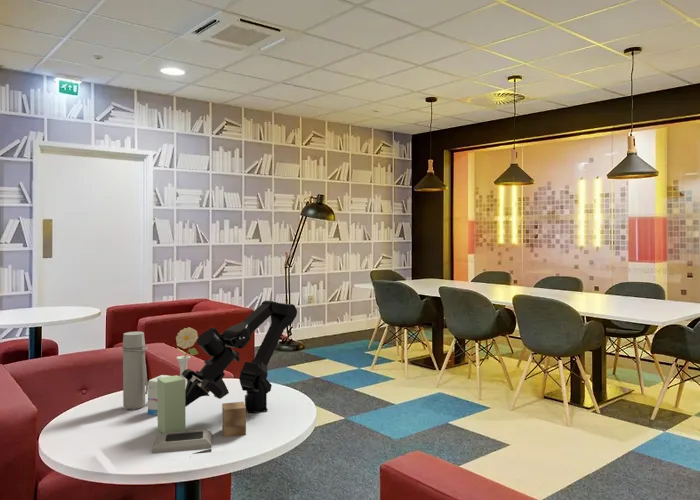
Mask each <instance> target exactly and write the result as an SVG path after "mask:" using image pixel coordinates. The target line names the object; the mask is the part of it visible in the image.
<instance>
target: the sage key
mask: <svg viewBox="0 0 700 500" xmlns="http://www.w3.org/2000/svg"><path fill="white" fill-rule="evenodd" d="M169 376H170V377H163V378H157V395H158V415H157V431H159V432H160V433H161V434H163V433H172V432H184V431H186V424H187V423H186V407H185V379H184V378H182V377H180V375H169Z"/></svg>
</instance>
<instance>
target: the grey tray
mask: <svg viewBox="0 0 700 500" xmlns="http://www.w3.org/2000/svg"><path fill="white" fill-rule="evenodd" d="M212 434H213V433H212V431H211V430H208V429H200V430H187V431H181V432H172V433H161V434H157V435H156V436H155V439H154V442H153V446H152V449H151V451H152V454H156V453H168V452H179V451H190V450H191V451H194V450H201V449H202V450H201V451H197V452H193V453H192V455H195V454H196V455H198V454H207V453H212V449H213V448H212V442H213V441H212V440H213V439H212V438H213V437H212V436H213V435H212ZM203 449H204V450H203Z"/></svg>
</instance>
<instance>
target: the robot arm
mask: <svg viewBox="0 0 700 500" xmlns="http://www.w3.org/2000/svg"><path fill="white" fill-rule="evenodd" d="M297 315H298V310H297V307H296V306H295V305H294V304H292V303H283V302H282V303H281V302H278V301H275V300H263V301H262V302H261V304H260V305H259V306H258V307H257V308H256V309H255V310H254V311H252V312H251V313H250V314H249V315H248V316H247V317H245V319H243V320H242V321H241V322H239V323H237V324H235V325H231V326H230V327H228V328H227V329H225V330H224V331H223V332H222V333H221V334H220V333H219V331H218V329H217V328H216V327H210V328H209V329H208V330H206V331H204V332H203V333H201V334H200V335H199V336H198V338H197V340H196V343H197V345H198V347H200V348H201V349H202V350H203V351H204V352H205V353H206V354H207V355H208V356H210V358H209V359H208V360H207V359H205V360H204V362H203V363H204V366H202V368H201V369H200V370H196V371H194V370H192V369H190V368H187V369H185V370H184V371H183V373H182V374H181V375H182V376H183V377H185V378H186V379H187V385H186V390H185V408H187V407H188V406H189V405H191V404H192V403H193V402H195V401H196V400H198V399H199V398H202V397H210V394H209V393H211V394H213V396H214V397H215V398H217V399H220V400H221V399H222V398H224V397H225V396H227V395H228V394H229V393H230V392H229V389H228V388H227V386H226V383H225V381H224V380H223V378H224V377H225V374H226V373H224V371H226V369H227V368H228V366H229V365H230V364H231V363H232V362H233V361H235V362H240V352H239V351H236V350H233V349H232V348H234V349H238V350H239V349H240V350H242V349H243V348H245V347H246V346H247V344H248V343H249V342H250V340H251V338H252V334H253V333H254V332H255V331H256V330H257V329H258V328H260V326H261V325H262V324H263V323H264V322H266V321H267V319H269V318H270V326H269V328H268V329H267V331H266V334H265V336H264V338H263V340H262V341H261V344H260V346H259V348H258V350H257V352H256V354H255V356H254V358H253V359H252V360H251V361H250V362H249V361H245V362H244V364H243V366H242V368H241V370H240V371H239V373H240V374H239V377H238V379H239V383H240V387H241V390H242V391H245V392H246V393H245V394H246V395H244V405H245V407H246V413H249V414H251V413H260V412H267V411H269V410H268V406H267V405H268V404H267V402H268V401H267V396H268V395H267V394H269V392H271V390H272V387H273V386H272V384H271V382H270V381H269V380H268V379H267V377H268V364H269V363H270V360H271V358H272V356H273V354H274V352H275V349H276V347H277V345H278V343H279V341H280V340H281V337H282V335H283V334H284V331H285V330H286V329H287V328H288V327H289V326H291V325H292V324H293V323H294V321H295V319H296V318H297Z"/></svg>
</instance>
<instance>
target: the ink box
mask: <svg viewBox="0 0 700 500" xmlns="http://www.w3.org/2000/svg"><path fill="white" fill-rule="evenodd" d="M170 376H171V375H166V374H161V375H158V376H156V377H153V378H151V379H149V380H148V381H147V382H148V392H147V415H151V416H152V415H153V416H154V415H155V416H158V395H157V378H163V377H170Z"/></svg>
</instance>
